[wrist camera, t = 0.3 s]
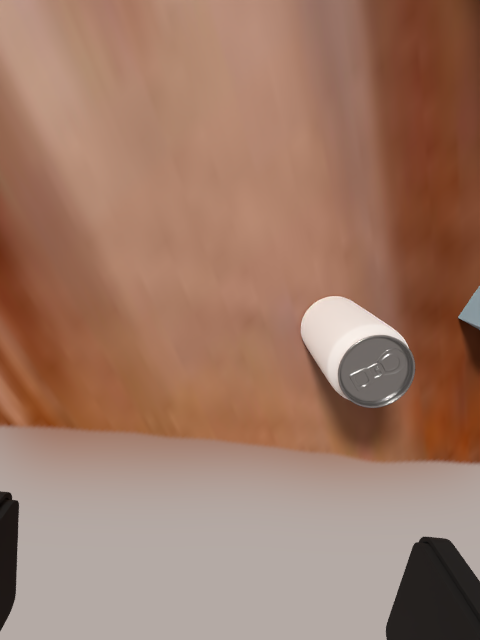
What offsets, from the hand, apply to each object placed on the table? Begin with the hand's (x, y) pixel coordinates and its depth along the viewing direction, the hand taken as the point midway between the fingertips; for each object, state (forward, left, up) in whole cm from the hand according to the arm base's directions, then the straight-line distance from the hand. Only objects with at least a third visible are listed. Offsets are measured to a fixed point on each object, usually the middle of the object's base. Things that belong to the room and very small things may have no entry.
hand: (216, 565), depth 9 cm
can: (-3, +11, -30) cm, 32 cm away
